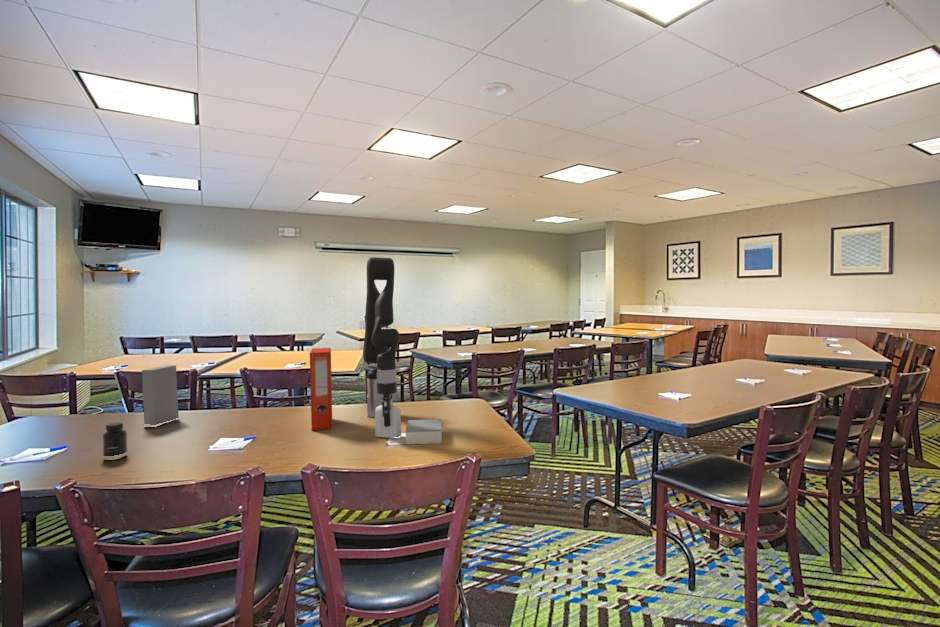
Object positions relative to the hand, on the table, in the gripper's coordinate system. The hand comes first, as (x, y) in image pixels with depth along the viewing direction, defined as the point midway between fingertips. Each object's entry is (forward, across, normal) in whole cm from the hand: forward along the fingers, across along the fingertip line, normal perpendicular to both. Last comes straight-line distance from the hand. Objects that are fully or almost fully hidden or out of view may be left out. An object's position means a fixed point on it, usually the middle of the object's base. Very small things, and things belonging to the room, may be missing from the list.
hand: (388, 424), depth 186 cm
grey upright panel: (+5, -34, -103) cm, 109 cm away
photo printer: (+5, 0, 0) cm, 5 cm away
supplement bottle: (+5, +12, -93) cm, 94 cm away
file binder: (+5, -22, -30) cm, 38 cm away
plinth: (+5, +3, +14) cm, 15 cm away
